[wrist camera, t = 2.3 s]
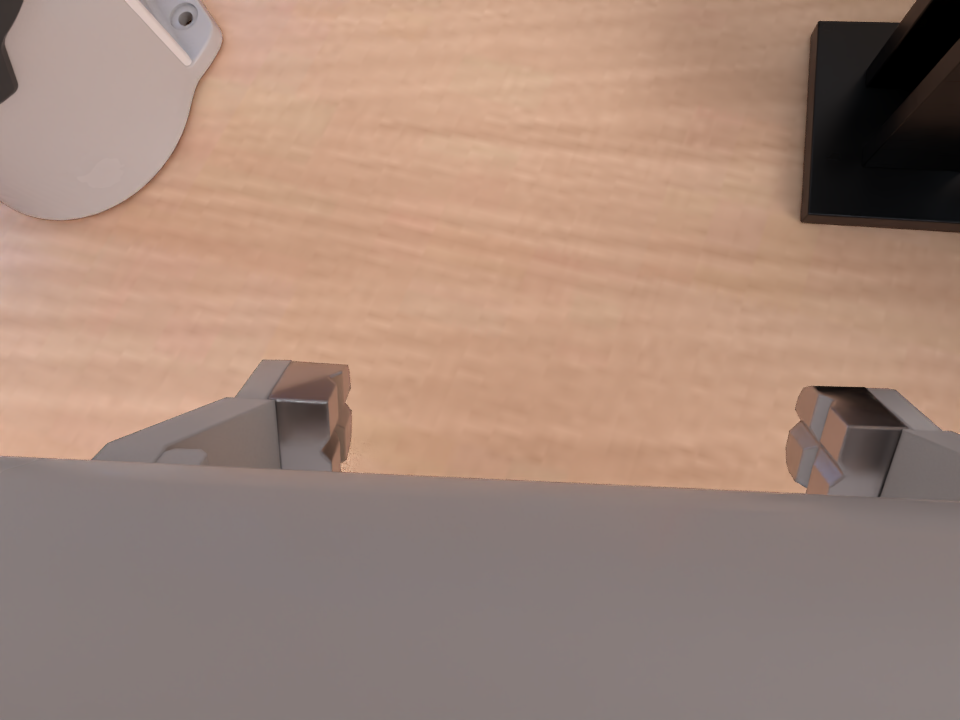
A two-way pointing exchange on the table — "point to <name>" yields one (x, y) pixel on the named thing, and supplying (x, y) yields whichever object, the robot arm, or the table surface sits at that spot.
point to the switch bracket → (885, 122)
